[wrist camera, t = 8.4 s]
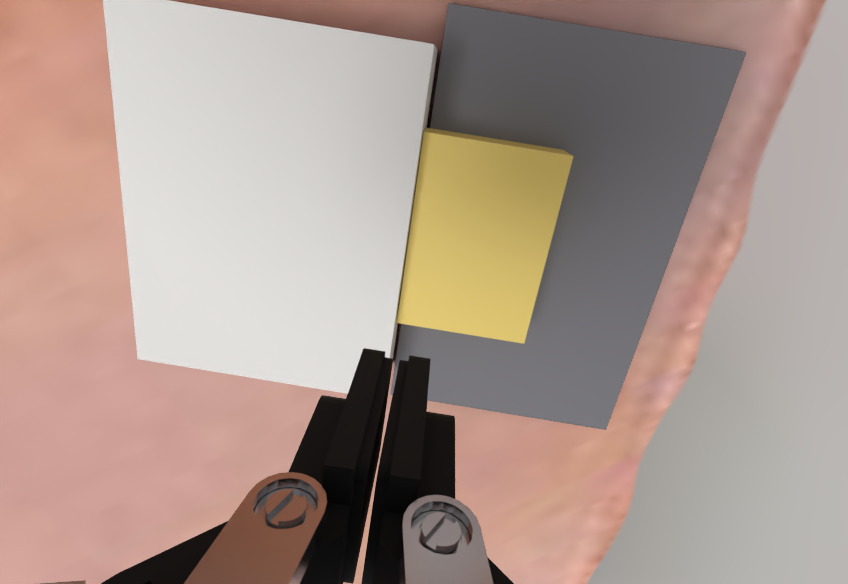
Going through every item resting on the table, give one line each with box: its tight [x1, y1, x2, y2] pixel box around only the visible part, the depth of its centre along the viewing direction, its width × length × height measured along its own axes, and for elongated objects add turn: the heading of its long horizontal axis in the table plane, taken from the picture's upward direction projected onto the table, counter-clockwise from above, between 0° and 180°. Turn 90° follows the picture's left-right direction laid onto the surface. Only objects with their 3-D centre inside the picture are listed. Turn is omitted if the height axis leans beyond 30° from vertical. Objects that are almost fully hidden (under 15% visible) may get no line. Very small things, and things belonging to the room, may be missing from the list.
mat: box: [391, 3, 746, 430], centre depth 27 cm, size 22×14×1 cm, turn 172°
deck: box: [103, 0, 438, 394], centre depth 26 cm, size 18×14×4 cm
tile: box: [397, 128, 573, 344], centre depth 25 cm, size 10×7×2 cm
